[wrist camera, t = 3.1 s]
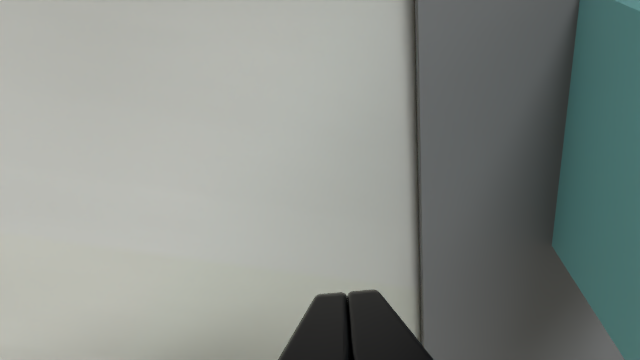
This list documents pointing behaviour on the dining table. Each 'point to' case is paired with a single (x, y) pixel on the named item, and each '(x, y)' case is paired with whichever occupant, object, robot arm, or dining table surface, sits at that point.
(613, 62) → the tile
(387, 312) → the robot arm
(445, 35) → the mat
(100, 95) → the dining table surface
